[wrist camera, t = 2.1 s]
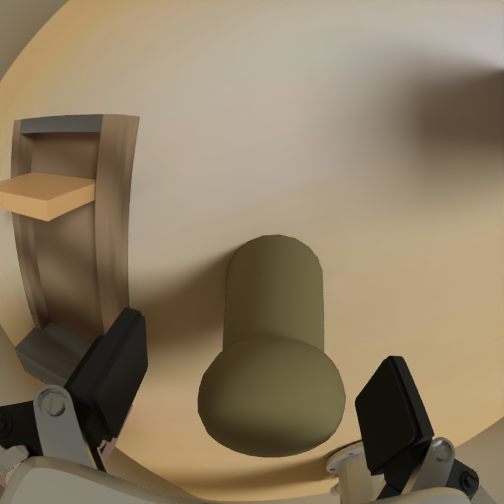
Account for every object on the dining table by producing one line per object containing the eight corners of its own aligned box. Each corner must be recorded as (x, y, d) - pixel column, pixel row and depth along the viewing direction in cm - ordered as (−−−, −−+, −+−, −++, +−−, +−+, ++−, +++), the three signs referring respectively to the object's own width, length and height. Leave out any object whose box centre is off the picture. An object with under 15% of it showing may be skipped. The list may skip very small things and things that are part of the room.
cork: (215, 300, 18) (164, 447, 8) (247, 219, 16) (199, 359, 6) (296, 329, 18) (305, 478, 8) (339, 257, 16) (404, 407, 6)
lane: (135, 368, 22) (110, 417, 16) (55, 335, 22) (25, 370, 16) (139, 116, 14) (76, 111, 8) (36, 118, 14) (-22, 125, 8)
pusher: (102, 197, 15) (47, 221, 10) (32, 185, 14) (-17, 203, 10) (103, 180, 14) (46, 201, 10) (32, 172, 14) (-18, 188, 10)
